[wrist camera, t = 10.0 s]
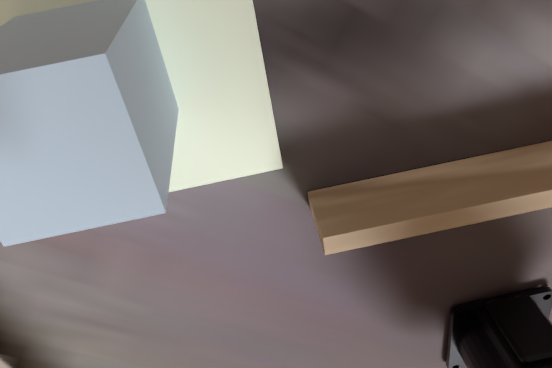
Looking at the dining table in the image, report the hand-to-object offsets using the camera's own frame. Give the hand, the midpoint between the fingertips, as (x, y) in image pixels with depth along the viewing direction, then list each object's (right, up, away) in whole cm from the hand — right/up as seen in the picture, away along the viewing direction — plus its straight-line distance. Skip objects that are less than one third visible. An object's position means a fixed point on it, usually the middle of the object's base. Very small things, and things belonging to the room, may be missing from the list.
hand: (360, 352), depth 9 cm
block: (-8, +8, +8) cm, 14 cm away
